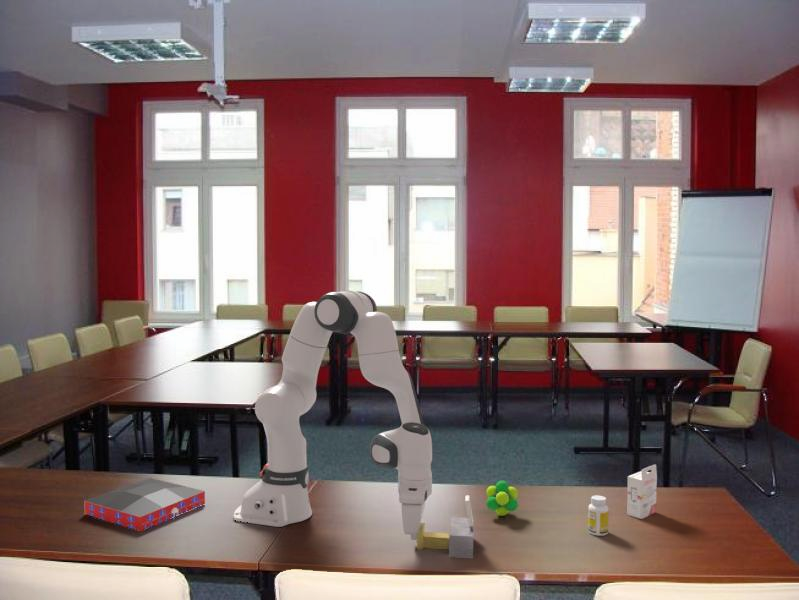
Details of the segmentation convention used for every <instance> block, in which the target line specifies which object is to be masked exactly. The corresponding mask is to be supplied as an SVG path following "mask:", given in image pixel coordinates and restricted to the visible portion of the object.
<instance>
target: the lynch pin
mask: <svg viewBox="0 0 799 600" xmlns="http://www.w3.org/2000/svg"><path fill="white" fill-rule="evenodd" d="M425 525H426V524H425V522H421V524H420V528H419V532H418V534H417V540H416V550H424V549H434V550H437V549H438V550H449V533H450V532H449V533H447V532H446V533H445V532H444V533H443V532H429V531H426V530H425V528H426V526H425Z"/></svg>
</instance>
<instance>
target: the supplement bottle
mask: <svg viewBox="0 0 799 600" xmlns="http://www.w3.org/2000/svg"><path fill="white" fill-rule="evenodd" d="M590 502H591V503H590V504H589V505H588V509H587V510H588V511H587V531H588V533H589V534H591V535H593V536H598V537H599V536H600V537H602V536H603V537H604V536H606V535H608V534H609V511H610V510H609V506H608V505H607V497H606V496H602V495H599V494H598V495H595V494H594V495H592V496H591V498H590Z"/></svg>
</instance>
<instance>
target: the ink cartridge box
mask: <svg viewBox="0 0 799 600" xmlns="http://www.w3.org/2000/svg"><path fill="white" fill-rule="evenodd" d="M649 471H650V472H649ZM657 473H658V470H657V464H652V465H649V466H646V467H645V468H642V469H641V471H637V472H635V473H633V474H630V475H628V476H627V493H626V494H627V495H626V496H627V497H626V498H627V502H626V503H627V504H626V507H627V509H626V516H629V517H633V518H636V519H639V520H642V519H645V518H647V517H649V516H651V515H653V514H655V513H656V512H657V492H658V491H657V486H658V485H657V484H658V474H657Z"/></svg>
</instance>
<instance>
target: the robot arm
mask: <svg viewBox="0 0 799 600" xmlns="http://www.w3.org/2000/svg"><path fill="white" fill-rule="evenodd" d="M333 333H339V334H344V335H349V334H351V335H353V337H354V338H355V341H356V344H357V353H358V362H359V368H360V372H361V374H362V377H364V379H365V380H366V381H367V382H369V383H371V385H374V386H376V387H380V388H383V389H385V390H387V391H389V393H391V394H392V395H393V396H394V398H395V401H396V405H397V409H398V413H399V416H400V421H401V425H400V427H397V428H394V429H391V430H387V431H382V432H380V433H377V434H376V435H375V436H373V437H372V440H371V441H370V445H369V452H370V458H371V460H372V461H373V463H374V464H375V465H376V466H377V467H379V468H381V469H386V470H392V469H393V470H394V469H396V470H397V472H398V474H397V477H398V478H397V491H398V492H397V493H398V502H399V504H401V518H402V529H403V530H402V531H403V533H404V534H405V535H409V536H410V540H413V541H417V534H418V532H419V528H420V524H421V523H422V519H423V514H424V511H425V510H424V509H425V505H426V501H427V500H428V498H429V496H431V495H432V493H433V472H432V468H431V467H432V465H431V464H432V462H433V442H432V441H433V439H432V435H431V432H430V430H429V428H428V426H426V425H425V423H424V422H425V421H424V420H423V417H422V416H423V415H422V413H421V407H420V405H419V401H418V396H417V392H416V390H415V389H416V388H415V385H414V382H413V378H412V377H411V374H410V372H409V371H408V370H407V369H406V368H405V367H404V364H403V362H402V358H401V356H400V350H399V343H398V338H397V333H396V330H395V326H394V323H393V320H392V318H391V316H390V315H388V314H387V313H385V312H382V311H378V309H377V304H376V301H375V300H374V299H373V298H372V296H370V295H369V294H368V293H365V292H364V291H356V290H355V291H354V290H343V291H330V292H328V293H325V294H324V295H322V296H321V297H320V298H319V299H318V300H317V301H311V302H310V301H309V302H307V303H306V304H304V305H302V308H301V309H300V311H299V312H298V314H297V316H296V318H295V320H294V322H293V325H292V328H291V329H290V333H289V336H288V339H287V342H286V345H285V346H284V347H285V348H284V350H283V354H282V356H281V362H282V375H281V378H280V381H279V382H278V383H277V384H276V385H273V386H271V387H269V388H267V389H266V390H264V392H262V393H261V394H260V395H259V397H258V398H257V399H256V401H255V404H254V413H255V415H256V418H257V420H258V421H259V422H260V423H262V425H263V428H264V432H265V436H266V442H267V444H266V445H267V463H266V464H265V465H263V468H262V469H261V472H260V473H259V474H260V475H259V477H260V478H261V479H260V480H259V481H258V482H257V483H254V485H252V486H251V487H250V488H249V489H248V490H247V491H246V492H245V493H244V495H243V497H242V501H241V504H240V505H239V506H238V507H237V508H236V509H235V510H234V512H233V514H232V515H233V517H232V518H234V519H233V521H235V520H236V521H235V522H240V521H241V523H247V522H248V523H247V524H255V525H262V526H270V527H275V528H276V527H277V528H279V527H281V528H282V527H284V526H287V525H290V524H295V523H299V522H303V521H306V520H307V519H309V518H311V516H312V515H313V510H312V508H311V503H310V497H309V490H308V486H309V466H308V464H307V439H306V437H305V436H303V434H302V429H301V426H300V417H301V416H303V415H304V414H306V413H308V411H310V410H311V408H312V407H313V406H314V404H315V403H316V401H317V394H318V393H317V381H318V375H319V370H320V367H321V364H322V361H323V359H324V355H325V353H326V351H327V348H328V347H327V346H328V345H329V341H330V338H331V336H332V335H333Z"/></svg>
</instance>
